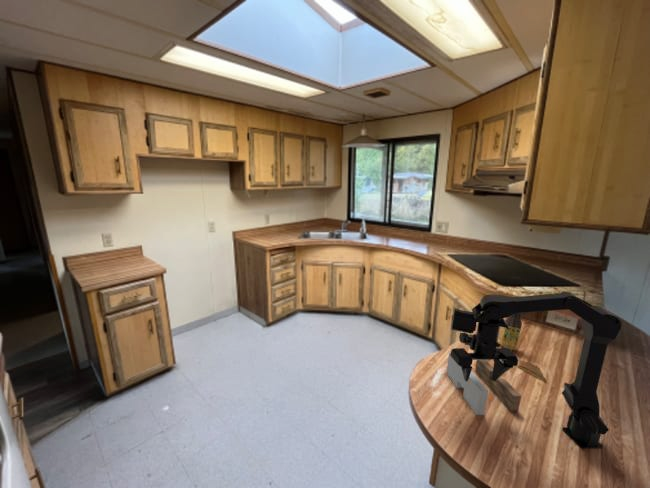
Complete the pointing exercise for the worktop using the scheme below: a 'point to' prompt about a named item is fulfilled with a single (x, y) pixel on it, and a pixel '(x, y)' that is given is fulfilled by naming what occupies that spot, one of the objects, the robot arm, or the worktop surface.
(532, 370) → the shard
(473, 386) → the slotted top plate
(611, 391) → the worktop surface
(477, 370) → the slotted base plate
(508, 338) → the sauce bottle
